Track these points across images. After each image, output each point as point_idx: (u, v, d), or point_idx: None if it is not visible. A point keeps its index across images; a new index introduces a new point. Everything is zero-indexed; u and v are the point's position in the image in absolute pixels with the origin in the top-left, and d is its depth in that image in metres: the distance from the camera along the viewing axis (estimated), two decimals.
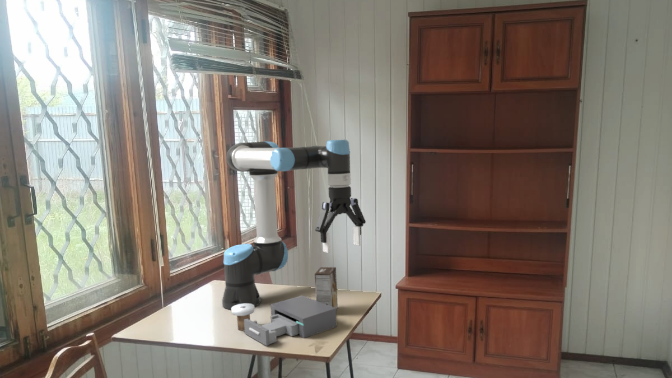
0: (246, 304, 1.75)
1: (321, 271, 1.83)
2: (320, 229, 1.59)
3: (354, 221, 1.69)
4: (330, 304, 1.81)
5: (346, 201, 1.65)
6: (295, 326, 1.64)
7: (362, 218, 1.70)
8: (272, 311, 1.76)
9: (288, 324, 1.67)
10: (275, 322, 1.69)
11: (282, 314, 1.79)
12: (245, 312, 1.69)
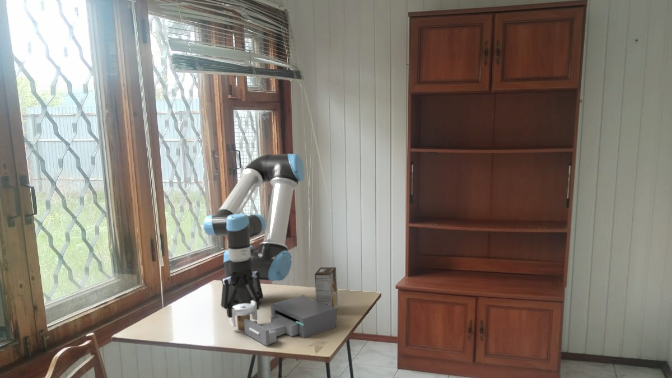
0: (246, 304, 1.75)
1: (321, 271, 1.83)
2: (225, 306, 1.67)
3: (252, 295, 1.74)
4: (330, 304, 1.81)
5: (247, 272, 1.71)
6: (295, 326, 1.64)
7: (260, 292, 1.75)
8: (272, 311, 1.76)
9: (288, 324, 1.67)
10: (275, 322, 1.69)
11: (282, 314, 1.79)
12: (245, 312, 1.69)
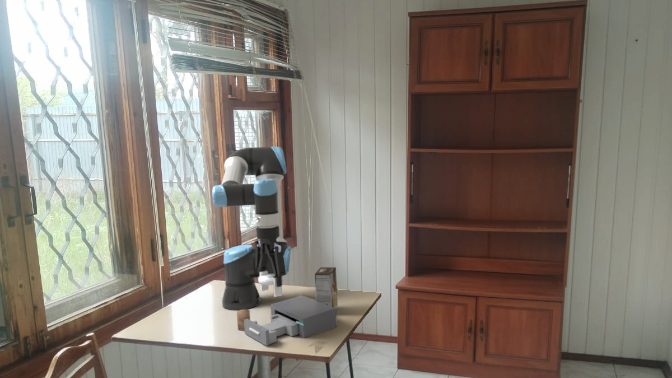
0: None
1: (321, 271, 1.83)
2: (255, 266, 1.69)
3: None
4: (330, 304, 1.81)
5: (268, 242, 1.61)
6: (295, 326, 1.64)
7: (277, 270, 1.58)
8: (272, 311, 1.76)
9: (288, 324, 1.67)
10: (275, 322, 1.69)
11: (282, 314, 1.79)
12: (258, 280, 1.63)
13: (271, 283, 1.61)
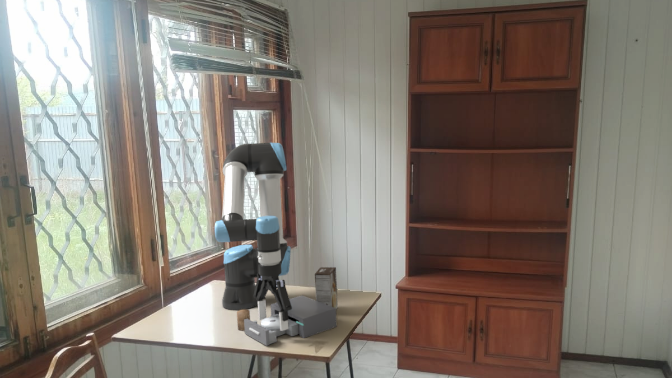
0: None
1: (321, 271, 1.83)
2: (254, 295, 1.72)
3: None
4: (330, 304, 1.81)
5: (270, 280, 1.63)
6: (295, 326, 1.64)
7: (283, 304, 1.58)
8: (272, 311, 1.76)
9: (288, 324, 1.67)
10: None
11: None
12: (261, 325, 1.65)
13: (273, 328, 1.63)
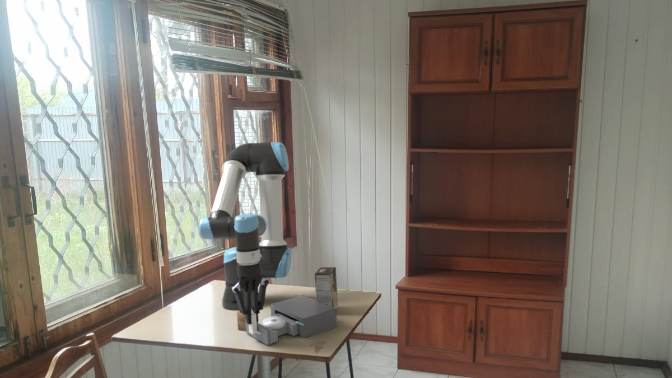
0: (281, 321, 1.66)
1: (321, 271, 1.83)
2: (244, 312, 1.58)
3: (253, 304, 1.61)
4: (330, 304, 1.81)
5: (257, 275, 1.60)
6: (296, 326, 1.65)
7: (262, 303, 1.62)
8: (272, 311, 1.76)
9: (289, 324, 1.67)
10: None
11: (282, 314, 1.79)
12: (262, 324, 1.65)
13: (275, 328, 1.63)
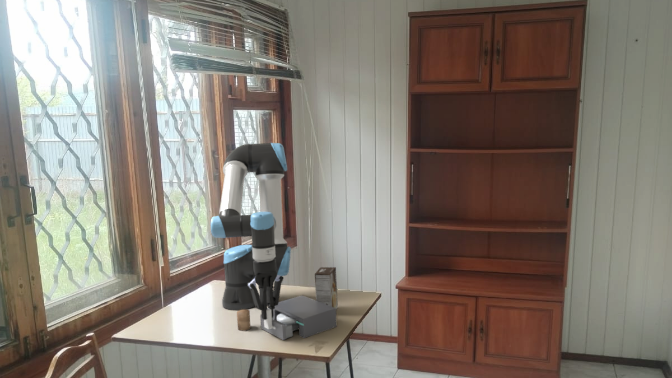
0: None
1: (321, 271, 1.83)
2: (259, 308, 1.62)
3: (268, 300, 1.65)
4: (330, 304, 1.81)
5: (273, 271, 1.64)
6: None
7: (277, 299, 1.66)
8: None
9: None
10: None
11: None
12: (277, 320, 1.69)
13: (289, 323, 1.67)
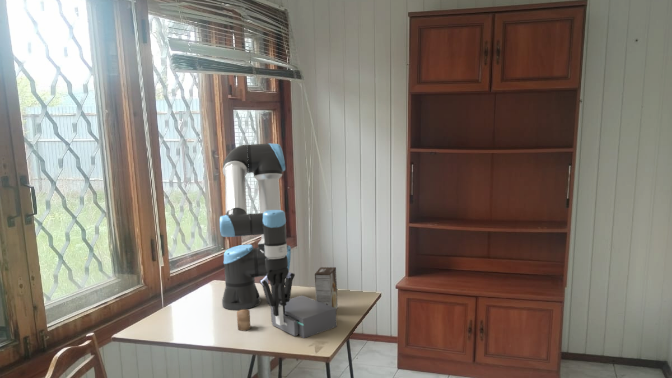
0: None
1: (321, 271, 1.83)
2: (271, 304, 1.64)
3: (280, 297, 1.68)
4: (330, 304, 1.81)
5: (284, 268, 1.67)
6: None
7: (288, 295, 1.68)
8: None
9: None
10: None
11: None
12: (288, 316, 1.72)
13: None
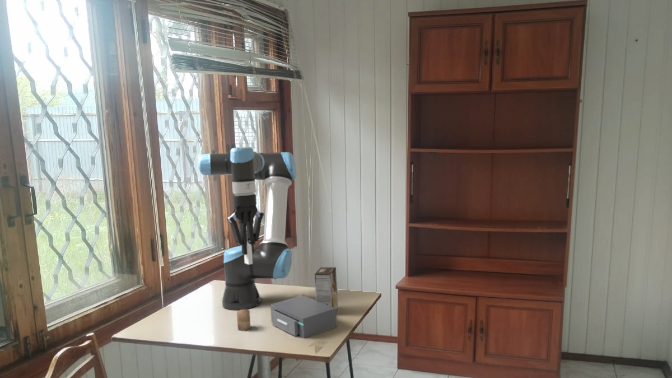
0: None
1: (321, 271, 1.83)
2: (239, 242, 1.62)
3: (249, 236, 1.65)
4: (330, 304, 1.81)
5: (253, 207, 1.65)
6: None
7: (257, 235, 1.66)
8: None
9: None
10: None
11: None
12: (288, 316, 1.72)
13: None
